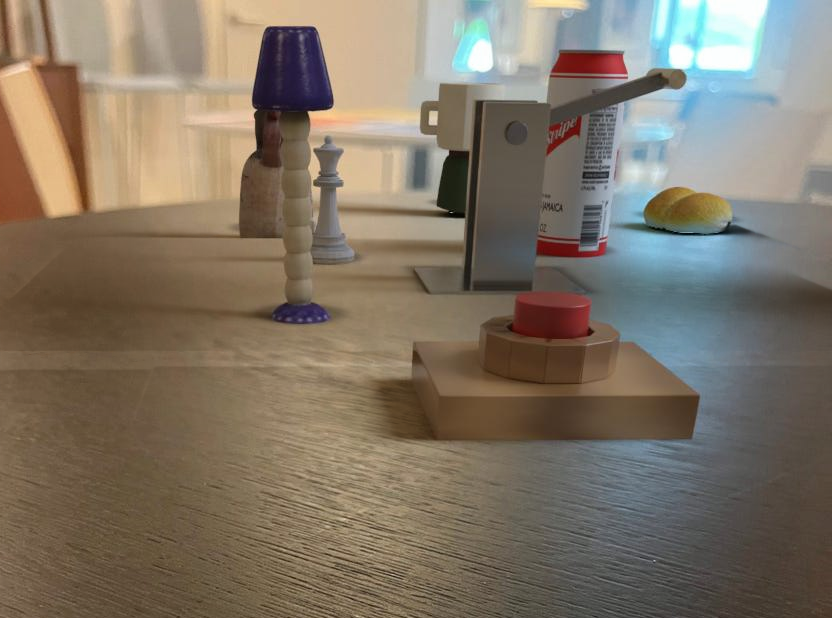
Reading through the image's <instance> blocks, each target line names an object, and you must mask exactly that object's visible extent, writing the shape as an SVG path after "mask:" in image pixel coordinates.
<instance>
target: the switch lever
mask: <svg viewBox="0 0 832 618" xmlns="http://www.w3.org/2000/svg"><path fill="white" fill-rule="evenodd" d="M686 83H687V73H686V71H685V70H684V69H682V68H664V67H663V68H661V67H654V68H653V67H652V68H651V69H650V70H649V71H647V73H646V74H645V75H644V76H642V77H637V78H636V79H632V80H628V82H626V83H623V84H620V85H617V86H614V87H611V88H608V89H605V90H602V91H599V92H596V93H593V94H590V95H587V96H584V97H581V98H578V99H575V100H572V101H569V102H566V103H563V104H560V105H557V106H554V107H551V112H550V122H549V126H552V125H555V124H558V123H561V122H564V121H567V120H570V119H573V118H576V117H579V116H583V115H586V114H589V113H592V112H595V111H598V110H601V109H604V108H607V107H610V106H613V105H616V104H619V103H622V102H625V103H626V102H627V101H631V100H633V99H636V98H640V97H643V96H645V95H648V94H653V93H656V92H658V91H661V90H663V89H664V90H675V91H676V90H677V91H678V90H680V89H682V88H683V87H684V86H685V85H686Z"/></svg>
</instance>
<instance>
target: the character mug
mask: <svg viewBox="0 0 832 618" xmlns="http://www.w3.org/2000/svg"><path fill="white" fill-rule="evenodd" d="M505 97H506V84H503V83H491V82H439V86H438V100H425V101H422V102H421V106H420V119H419V131H420V133H421V134H422V135H425V136H436V137H435V138H436V143H437V147H438V148H440V149H441V150H446V151H448V155H446V157H445V158H444V161H443V163H442V169H441V174H440V178H439V184H438V191H437V197H436V205H435V206H436V207H437V208H439V209H442V210H445V211H448V213H449V212H454V213H466V198H467V183H468V168H469V153H470V138H471V123H472V108H473V100H474V99H479V100H505ZM430 112H437V118H436V119H437V120H436V123H437V124H430Z"/></svg>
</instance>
